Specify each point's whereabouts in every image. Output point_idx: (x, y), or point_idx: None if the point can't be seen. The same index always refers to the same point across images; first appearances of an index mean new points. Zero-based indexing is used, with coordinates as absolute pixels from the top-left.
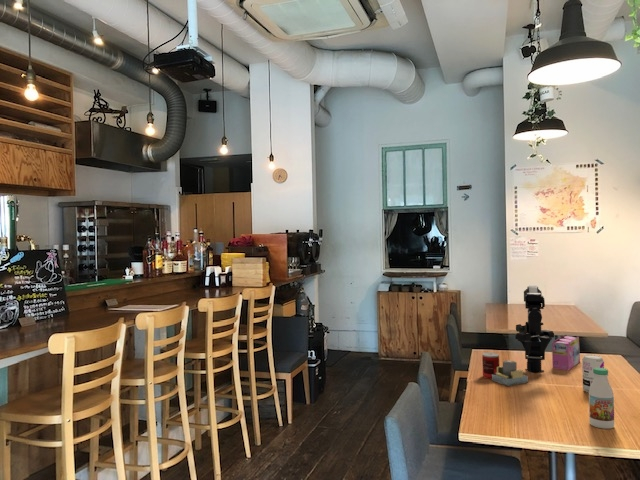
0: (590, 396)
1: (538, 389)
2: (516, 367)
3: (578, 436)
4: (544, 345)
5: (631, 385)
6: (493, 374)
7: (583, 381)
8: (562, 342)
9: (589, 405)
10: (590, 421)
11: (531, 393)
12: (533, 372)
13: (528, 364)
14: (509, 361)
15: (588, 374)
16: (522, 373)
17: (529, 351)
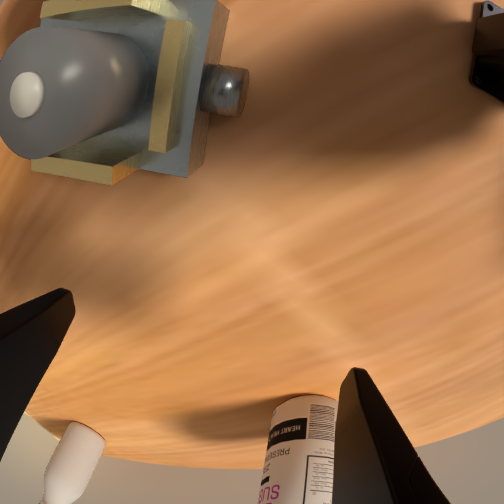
0: (48, 463)
1: (142, 275)
2: (84, 138)
3: (30, 407)
4: (341, 497)
5: (463, 429)
6: (42, 23)
7: (279, 433)
8: None
9: (56, 448)
10: (68, 426)
11: (76, 279)
12: (471, 72)
13: (499, 28)
14: (19, 100)
15: (262, 476)
16: (124, 176)
17: (44, 359)
